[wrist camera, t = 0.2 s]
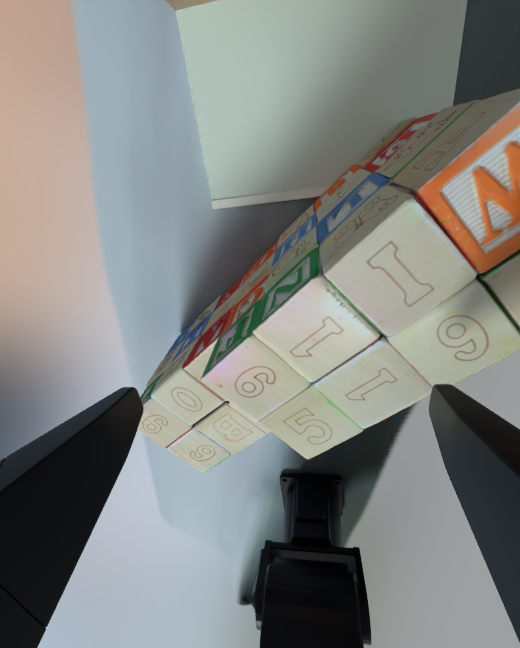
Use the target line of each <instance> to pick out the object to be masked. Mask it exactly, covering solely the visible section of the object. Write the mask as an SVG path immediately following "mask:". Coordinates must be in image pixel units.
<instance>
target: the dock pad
mask: <svg viewBox="0 0 520 648" xmlns="http://www.w3.org/2000/svg"><path fill="white" fill-rule="evenodd" d="M166 1H167V2H168V3H169V4H170V5H171V6H172V7H173V9H174V10H175V11H176V15H177V21H178V26H179V31H180V36H181V42H182V47H183V52H184V57H185V63H186V68H187V73H188V78H189V84H190V89H191V94H192V99H193V105H194V110H195V115H196V120H197V126H198V131H199V136H200V141H201V147H202V152H203V157H204V162H205V168H206V173H207V178H208V183H209V189H210V194H211V199H212V207H213V210H214V209H222V208H231V207H239V206H247V205H256V204H264V203H272V202H281V201H289V200H298V199H306V198H314V197H320V196H321V195H322V194H323V193H324V192H325V191H326V190H328V189H329V188H330V187H331V186H332V185H333V184H334V183H335V182H336V181H337V180H338V179H339V178H340V177H341V176H342V175H343V174H344V173H345V172H346V171H347V170H348V169H349V168H350V167H351V166H353V165H355V164H356V163H357V162H358V161H359V160H360V159H361V158H362V157H363V156H364V155H366V154H367V153H368V152H369V151H370V150H371V149H372V148H373V147H374V146H375V145H376V144H377V143H378V142H379V141H380V140H381V139H382V138H383V137H384V136H385V135H386V134H387V133H388V132H389V131H390V130H391V129H392V128H394V127H395V126H396V125H397V124H398V123H399V122H401V121H404V120H406V119H410V118H413V117H416V118H420V117H423V116H426V115H429V114H432V113H438V112H439V111H441V110H442V109H444V108H448V107H451V106H453V102H454V94H455V87H456V80H457V73H458V65H459V58H460V51H461V44H462V37H463V29H464V22H465V15H466V8H467V0H166Z"/></svg>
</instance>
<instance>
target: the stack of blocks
mask: <svg viewBox="0 0 520 648" xmlns="http://www.w3.org/2000/svg"><path fill="white" fill-rule="evenodd" d="M518 350H520V88H519V89H516V90H512V91H509V92H506V93H502V94H499V95H496V96H493V97H490V98H487V99H484V100H478V99H477V100H473V101H470V102H467V103H462V104H459V105H456V106H451V107H448V108H444V109H442V110H441V111H439V112H438V113H432V114H429V115H426V116H423V117H420V118H416V117H413V118H410V119H406V120H404V121H401V122H399V123H398V124H397V125H396V126H395V127H394V128H392V129H391V130H390V131H389V132H388V133H387V134H386V135H385V136H384V137H383V138H382V139H381V140H380V141H379V142H378V143H377V144H376V145H375V146H374V147H373V148H372V149H371V150H370V151H369V152H368V153H367V154H366V155H364V156H363V157H362V158H361V159H360V160H359V161H358V162H357V163H356V164H355V165H353V166H351V167H350V168H349V169H348V170H347V171H346V172H345V173H344V174H343V175H342V176H341V177H340V178H339V179H338V180H337V181H336V182H335V183H334V184H333V185H332V186H331V187H330V188H329V189H328V190H326V191H325V192H324V193H323V194H322V195H321V196H320V197H319V198H318V199H317V200H316V201H315V202H314V203H313V204H312V205H311V206H310V207H309V208H308V209H307V210H306V211H305V212H304V213H302V214H301V215H300V216H299V217H298V218H297V219H296V220H295V221H294V222H293V223H292V224H291V225H290V226H289V227H288V228H287V229H286V230H285V231H284V232H283V233H282V234H281V235H280V237H279V240H278V241H277V242H275V243H274V244H273V245H272V246H271V247H270V248H269V249H268V250H267V251H266V252H265V253H264V254H263V255H262V256H261V257H260V258H259V259H258V260H257V261H256V262H255V263H254V264H253V265H252V266H251V267H250V269H249V270H248V271H247V272H246V273H245V274H244V275H243V276H242V277H241V278H240V279H239V280H237V281H236V282H235V284H234V285H232V286H231V287H230V288H229V289H228V290H227V291H226V292H225V294H221V295H220V296H219V297H218V298H217V299H216V300H215V301H214V302H213V303H211V304H210V305H209V306H208V307H207V308H206V309H205V310H204V311H203V312H202V313H201V314H200V315H199V316H198V318H197V319H196V320H195V321H194V322H193V323H192V324H191V325H190V326H189V327H188V328H187V329H186V330H185V331H184V332H183V333H182V334H181V335H180V336H179V337H178V338H177V339H176V341H175V342H174V344H173V346H172V347H171V349H170V350H169V352H168V353H167V355H166V356H165V358H164V359H163V360H162V362H161V363H160V365H159V366H158V368H157V369H156V371H155V372H154V374H153V376H152V377H151V379H150V380H149V382H148V383H147V385H146V386H147V388H146V390H145V391H144V393H143V394H142V396H141V397H140V399H141V401H142V404H143V408H144V411H143V415H142V418H141V421H140V423H139V426H138V429H137V430H138V431H140V432H141V433H143V434H144V435H146V436H147V437H148V438H150V439H151V440H153V441H154V442H156V443H157V444H159V445H160V446H162V447H164V448H167V449H168V450H169V451H171V452H172V453H174V454H175V455H177V456H178V457H180V458H181V459H183V460H184V461H186V462H187V463H189V464H190V465H192V466H193V467H195V468H196V469H198V470H199V471H201V472H206V471H207V470H208V469H210V468H212V467H213V466H215V465H216V464H218V463H220V462H221V461H223V460H224V459H226V458H228V457H229V456H230V455H231V454H236V453H237V452H239V451H241V450H242V449H244V448H246V447H247V446H249V445H251V444H252V443H254V442H255V441H257V440H259V439H260V438H262V437H263V436H265V435H266V434H267V433H270V432H273V433H274V434H276V435H277V436H278V437H279V438H280V439H282V440H283V441H284V442H285V443H287V444H288V445H289V446H290V447H292V448H293V449H294V450H295V451H296V452H298V453H299V454H300V455H301V456H303V457H304V458H305V459H310V458H313V457H315V456H317V455H319V454H321V453H323V452H325V451H326V450H328V449H330V448H332V447H334V446H336V445H338V444H340V443H342V442H344V441H346V440H348V439H349V438H351V437H353V436H355V435H357V434H359V433H361V432H362V431H363V429H365V428H368V427H370V426H372V425H374V424H377V423H379V422H381V421H383V420H384V419H386V418H388V417H390V416H392V415H394V414H396V413H397V412H399V411H401V410H403V409H405V408H407V407H409V406H411V405H413V404H415V403H417V402H419V401H420V400H422V399H424V398H426V397H427V396H429V395H430V394H431V391H432V387H433V385H435V384H451V385H453V384H455V383H457V382H458V381H460V380H462V379H464V378H466V377H468V376H470V375H472V374H474V373H476V372H478V371H480V370H482V369H484V368H486V367H488V366H490V365H492V364H493V363H496V362H498V361H499V360H501V359H503V358H505V357H507V356H509V355H510V354H512V353H514V352H516V351H518Z"/></svg>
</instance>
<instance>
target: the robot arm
mask: <svg viewBox="0 0 520 648" xmlns="http://www.w3.org/2000/svg"><path fill="white" fill-rule="evenodd" d="M143 411H144V408H143V404H142V401H141V399H140V396H139V394H138V391H137V389H136V388H134V387H124V388H121V389H119V390H117V391H116V392H114V393H112V394H111V395H109V396H107V397H105V398H104V399H102V400H100V401H99V402H97V403H95V404H94V405H92V406H90V407H89V408H87V409H86V410H84V411H82V412H80V413H79V414H77V415H75V416H74V417H72V418H70V419H69V420H67V421H65V422H64V423H62V424H60V425H59V426H57V427H55V428H54V429H52V430H51V431H49V432H47V433H45V434H44V435H42V436H40V437H39V438H37V439H35V440H34V441H32V442H30V443H29V444H27V445H25V446H24V447H22V448H20V449H19V450H17V451H15V452H14V453H12V454H10V455H9V456H7V458H4V459H2V460H0V648H37V647H38V645H39V643H40V641H41V638H42V636H43V634H44V632H45V630H46V628H45V627H47V626H48V623H49V621H50V619H51V617H52V615H53V613H54V611H55V609H56V606H57V604H58V602H59V600H60V598H61V596H62V594H63V592H64V590H65V588H66V585H67V583H68V581H69V579H70V577H71V575H72V573H73V571H74V569H75V566H76V564H77V562H78V560H79V558H80V556H81V554H82V552H83V550H84V547H85V545H86V543H87V541H88V539H89V537H90V535H91V533H92V531H93V528H94V526H95V524H96V522H97V520H98V518H99V516H100V514H101V512H102V509H103V507H104V505H105V503H106V501H107V499H108V497H109V495H110V493H111V490H112V488H113V486H114V484H115V482H116V480H117V478H118V476H119V474H120V471H121V469H122V467H123V465H124V463H125V461H126V458H127V456H128V453H129V451H130V448H131V446H132V443H133V440H134V437H135V435H136V432H137V429H138V426H139V423H140V421H141V418H142V415H143ZM429 414H430V418H431V421H432V424H433V428H434V431H435V435H436V438H437V441H438V445H439V448H440V451H441V455H442V458H443V461H444V464H445V467H446V470H447V473H448V475H449V477H450V480H451V482H452V485H453V487H454V489H455V492H456V494H457V496H458V499H459V501H460V503H461V506H462V508H463V510H464V512H465V515H466V517H467V520H468V522H469V524H470V527H471V529H472V531H473V534H474V536H475V539H476V541H477V543H478V546H479V548H480V550H481V553H482V555H483V557H484V560H485V562H486V564H487V567H488V569H489V571H490V574H491V576H492V578H493V581H494V583H495V585H496V588H497V590H498V592H499V595H500V597H501V599H502V602H503V604H504V607H505V609H506V611H507V614H508V616H509V618H510V621H511V623H512V625H513V627H514V630H515V632H516V635H517V637H518V639H519V642H520V429H518V428H517V427H515V426H513V425H512V424H511V423H509V422H507V421H506V420H504V419H503V418H501V417H500V416H498V415H497V414H495V413H494V412H492V411H491V410H489V409H488V408H486V407H485V406H483V405H482V404H480V403H479V402H477V401H476V400H474V399H472V398H471V397H469V396H468V395H466V394H465V393H463V392H462V391H460V390H459V389H457V388H456V387H454V386H453V385H451V384H435V385H433V387H432V391H431V397H430V404H429ZM280 484H281V491H282V497H283V504H284V510H285V514H284V529H283V542H272V541H271V540H266V542H265V547H264V549H262V550H261V556H260V564H259V570H258V574H257V577H256V581H255V584H254V587H253V591H252V594H251V604H252V606H253V607H254V609H255V616H256V626H257V629H258V630H261V637H260V648H364V647H363V644H367V645H371V627H370V616H369V607H368V600H367V593H366V586H365V580H364V574H363V568H362V562H361V556H360V550H359V548H357V547H353V548H344V547H343V542H342V531H341V519H340V516H342V514H343V483H342V478H341V477H339V476H322V475H298V474H282V475H280Z"/></svg>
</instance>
